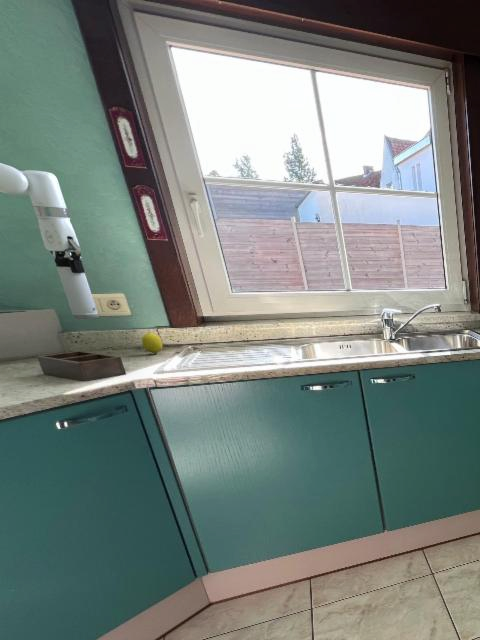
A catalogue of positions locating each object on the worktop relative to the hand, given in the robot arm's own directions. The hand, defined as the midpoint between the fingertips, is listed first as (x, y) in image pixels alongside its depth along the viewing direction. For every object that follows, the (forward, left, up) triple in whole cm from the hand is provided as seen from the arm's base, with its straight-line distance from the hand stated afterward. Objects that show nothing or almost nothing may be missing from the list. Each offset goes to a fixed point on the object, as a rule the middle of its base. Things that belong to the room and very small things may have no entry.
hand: (71, 271), depth 166 cm
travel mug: (0, 0, -15) cm, 15 cm away
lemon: (+12, -9, -29) cm, 33 cm away
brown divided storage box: (-17, -25, -29) cm, 42 cm away
